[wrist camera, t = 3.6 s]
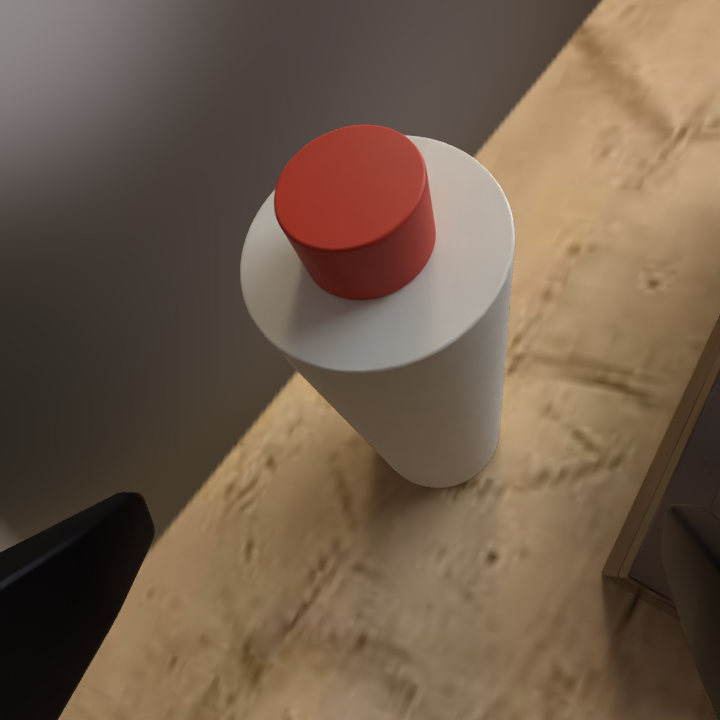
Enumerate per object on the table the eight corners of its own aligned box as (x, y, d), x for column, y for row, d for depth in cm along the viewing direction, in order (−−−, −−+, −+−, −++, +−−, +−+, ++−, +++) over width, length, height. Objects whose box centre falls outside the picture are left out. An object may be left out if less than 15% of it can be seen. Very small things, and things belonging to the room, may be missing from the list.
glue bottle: (483, 504, 19) (472, 370, 6) (362, 468, 21) (144, 299, 8) (511, 384, 20) (552, 65, 7) (396, 359, 22) (265, 61, 9)
